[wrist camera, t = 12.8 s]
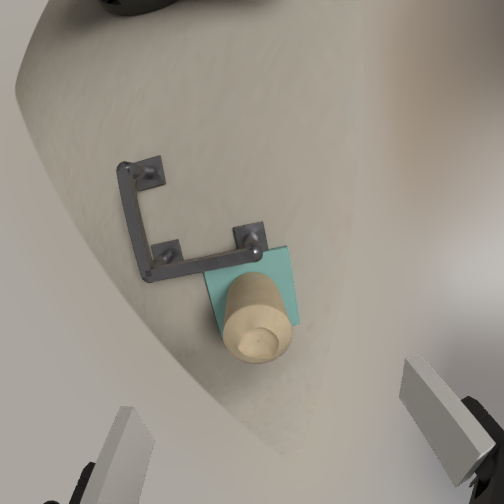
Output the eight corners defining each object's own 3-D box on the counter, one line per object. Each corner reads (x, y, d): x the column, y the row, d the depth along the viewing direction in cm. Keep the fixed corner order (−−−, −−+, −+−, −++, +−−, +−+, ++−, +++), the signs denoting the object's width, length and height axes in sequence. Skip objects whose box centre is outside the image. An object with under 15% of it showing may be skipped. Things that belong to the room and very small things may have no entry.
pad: (202, 262, 29) (201, 264, 29) (286, 245, 29) (287, 247, 29) (222, 335, 31) (221, 338, 31) (298, 320, 31) (299, 323, 31)
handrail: (135, 163, 27) (103, 157, 19) (245, 136, 27) (247, 118, 19) (159, 271, 29) (136, 296, 22) (268, 249, 29) (276, 269, 22)
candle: (228, 319, 30) (223, 374, 20) (226, 271, 29) (219, 313, 19) (278, 317, 30) (293, 372, 21) (279, 270, 29) (297, 311, 19)
